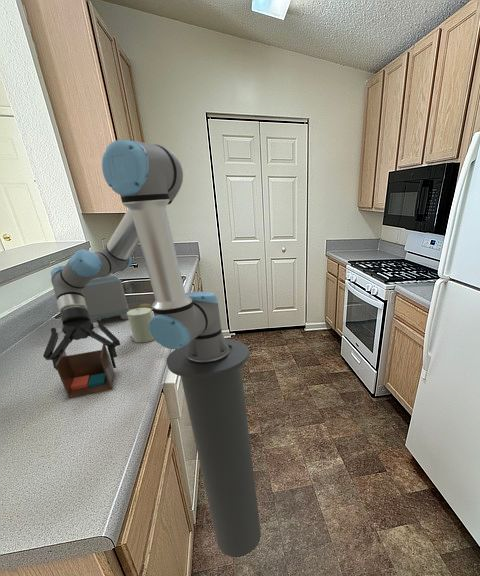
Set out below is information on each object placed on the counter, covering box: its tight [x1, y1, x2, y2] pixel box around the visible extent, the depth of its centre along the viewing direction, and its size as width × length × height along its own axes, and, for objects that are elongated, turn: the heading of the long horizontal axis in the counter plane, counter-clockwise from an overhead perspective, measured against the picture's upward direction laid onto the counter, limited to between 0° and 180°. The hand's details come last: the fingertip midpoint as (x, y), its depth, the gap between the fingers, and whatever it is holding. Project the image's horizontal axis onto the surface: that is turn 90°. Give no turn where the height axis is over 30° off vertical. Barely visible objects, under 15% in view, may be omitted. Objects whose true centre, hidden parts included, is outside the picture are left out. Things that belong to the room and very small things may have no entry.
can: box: [127, 307, 155, 343], centre depth 134 cm, size 9×9×12 cm
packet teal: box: [88, 373, 106, 388], centre depth 104 cm, size 4×6×1 cm
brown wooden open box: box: [55, 343, 115, 399], centre depth 101 cm, size 12×11×11 cm
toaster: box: [83, 273, 130, 323], centre depth 159 cm, size 19×33×20 cm, turn 38°
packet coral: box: [71, 375, 90, 390], centre depth 103 cm, size 4×6×1 cm
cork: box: [138, 303, 154, 316], centre depth 143 cm, size 6×6×11 cm
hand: (89, 372), depth 101 cm, fingers open, 13 cm apart
